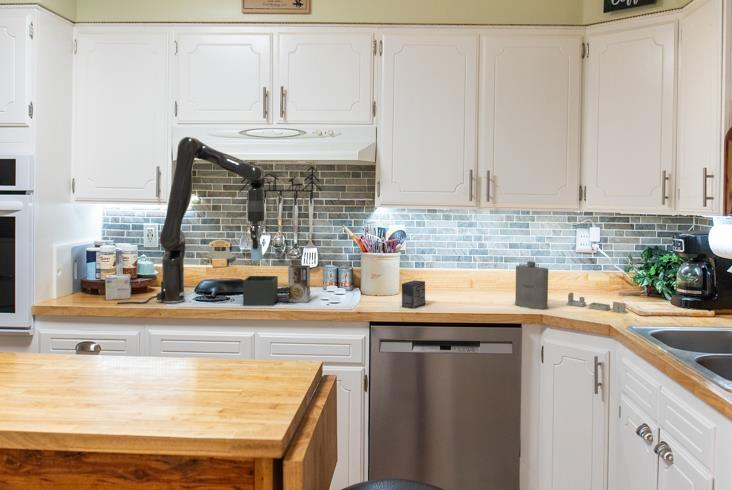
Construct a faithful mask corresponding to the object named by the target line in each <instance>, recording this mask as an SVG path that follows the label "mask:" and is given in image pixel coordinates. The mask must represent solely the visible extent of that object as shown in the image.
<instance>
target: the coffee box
mask: <svg viewBox="0 0 732 490" xmlns="http://www.w3.org/2000/svg"><path fill="white" fill-rule="evenodd" d="M287 275H288V277H287V280H288V281H287V283H288V303H308V302H310V301H311V265H309V264H307V265H306V264H304V265H301V264H298V265H295V264H291V265H290V266H288V267H287Z"/></svg>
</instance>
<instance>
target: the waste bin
mask: <svg viewBox="0 0 732 490" xmlns="http://www.w3.org/2000/svg"><path fill="white" fill-rule="evenodd" d="M278 278H279V275H248V276H247V277H246V278H245V279H244V280H242V305H243V306H257V307H258V306H260V307H261V306H266V307H267V306H268V307H269V306H274V305H275V304H276V302H277V301H278V299H279V296H278V295H279V294H278V293H279V290H278V289H279V287H278V286H279V285H278V284H279V282H278V281H279V279H278Z"/></svg>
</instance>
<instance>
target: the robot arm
mask: <svg viewBox="0 0 732 490" xmlns="http://www.w3.org/2000/svg"><path fill="white" fill-rule="evenodd" d="M196 159H197V160H202V161H205V162H207V163H211V164H212V165H214V166H217V167H218V168H220V169H222V170H224V171H226V172H229V173H231V174H234V175H237V176H240V177H241V178H243V179H245V180H247V181H249V188H248V189H247V206H246V207H247V210H246V211H247V212H246V213H247V222H252V223H251V225H250V228H249V230H250V240H251V241H252V244H253V249H257V248H258V237H259V238H260V239H262V228H263V227H262V226H263V225H262V223H261V222H265V199H264V196H265V194H264V193H265V192H264V189H265V188H264V187H265V181H266V180H265V179H266V173H265V170H264V168H263V167H261V166H258V165H253V164H252V163H251V164H250V163H248V162H245V161H244V160H243V159H240V158H238V157H236V156H233V155H230V154H228V153H225V152H222V151H220V150H217V149H215V148H212V147H210V146H208V145H207V144H205V143H204V142H203V141H200V140H199V139H197V138H195V137H191V136H185V137H182V138H181V139H180V140H179V141H178V145H177V151H176V163H175V168H174V173H173V177H172V183H171V187H170V191H169V195H168V197H169V198H168V202H167V208H166V215H165V219H164V223H163V225H162V226H163V227H162V230H161V232H160V236H159V244H160V245H161V247H162V248H163V249H164V254H163V256H162V259H161V262H162V263H161V264H162V265H161V269H162V270H161V271H162V273H161V274H162V280H161V281H160V291H159V292H157V293H156V295H154V296H152V297H149V298H148V299H147V300H145V301H118V302H117V305H124V304H125V305H127V304H128V305H129V304H137V305H143V304H147V303H149V302H150V301H151V300H153V299H156V301H160V303H164V304H178V303H183V302H185V293H186V292H185V257H186V236H185V233H184V231H182V224H183V220H184V217H185V215H186V214H187V211H188V209H189V206H190V204H191V200H192V195H193V189H194V188H193V186H194V184H193V183H194V181H193V166H194V162H195V160H196Z"/></svg>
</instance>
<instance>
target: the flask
mask: <svg viewBox="0 0 732 490" xmlns="http://www.w3.org/2000/svg"><path fill="white" fill-rule="evenodd" d="M548 300H549V268H547V267H539V266H536V262H535V261H531V260H529V261H527V262H526V265H521V264H520V265H516V266H515V304H514V305H516V306H519V307H523V308H527V309H528V308H529V309H535V310H547V309H548V307H549V306H548V305H549V303H548V302H549V301H548Z"/></svg>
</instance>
